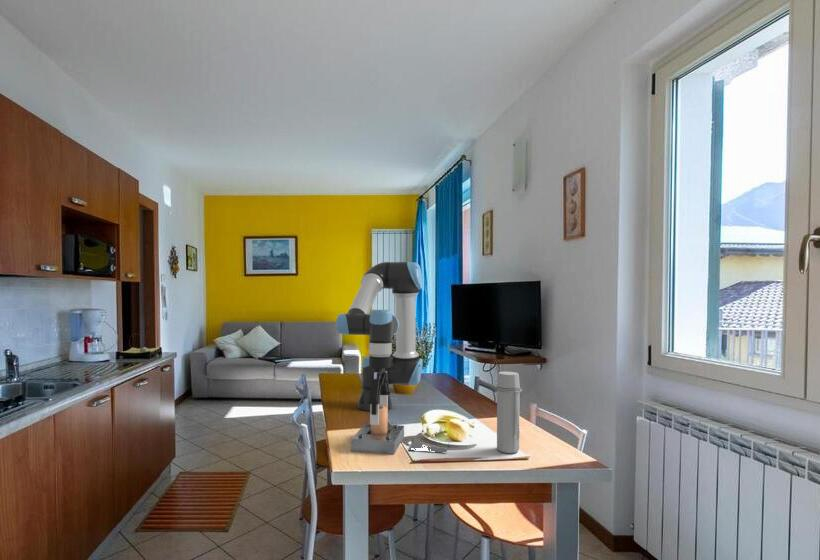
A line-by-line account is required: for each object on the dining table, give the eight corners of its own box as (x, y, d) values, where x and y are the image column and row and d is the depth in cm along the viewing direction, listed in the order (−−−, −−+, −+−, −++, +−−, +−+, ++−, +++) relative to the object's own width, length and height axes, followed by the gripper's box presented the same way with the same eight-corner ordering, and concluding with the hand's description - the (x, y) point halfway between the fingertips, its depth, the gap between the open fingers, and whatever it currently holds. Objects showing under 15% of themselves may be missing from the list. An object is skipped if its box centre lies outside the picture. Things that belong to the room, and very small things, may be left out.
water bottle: (491, 448, 151) (491, 371, 152) (511, 445, 154) (511, 370, 155) (508, 457, 142) (508, 376, 143) (528, 454, 145) (529, 375, 146)
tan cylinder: (372, 440, 157) (373, 402, 157) (388, 441, 156) (389, 403, 157) (368, 446, 151) (369, 406, 152) (385, 447, 151) (385, 407, 151)
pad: (414, 439, 159) (414, 438, 159) (449, 441, 157) (449, 440, 157) (408, 451, 147) (408, 449, 147) (446, 453, 145) (446, 452, 145)
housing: (365, 434, 164) (365, 421, 164) (404, 437, 162) (404, 423, 162) (351, 451, 146) (351, 436, 146) (394, 454, 144) (394, 439, 144)
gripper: (377, 351, 168) (376, 409, 167) (359, 359, 143) (358, 428, 142) (398, 351, 167) (397, 410, 166) (383, 360, 142) (382, 429, 141)
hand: (379, 419), depth 154 cm, fingers open, 13 cm apart
